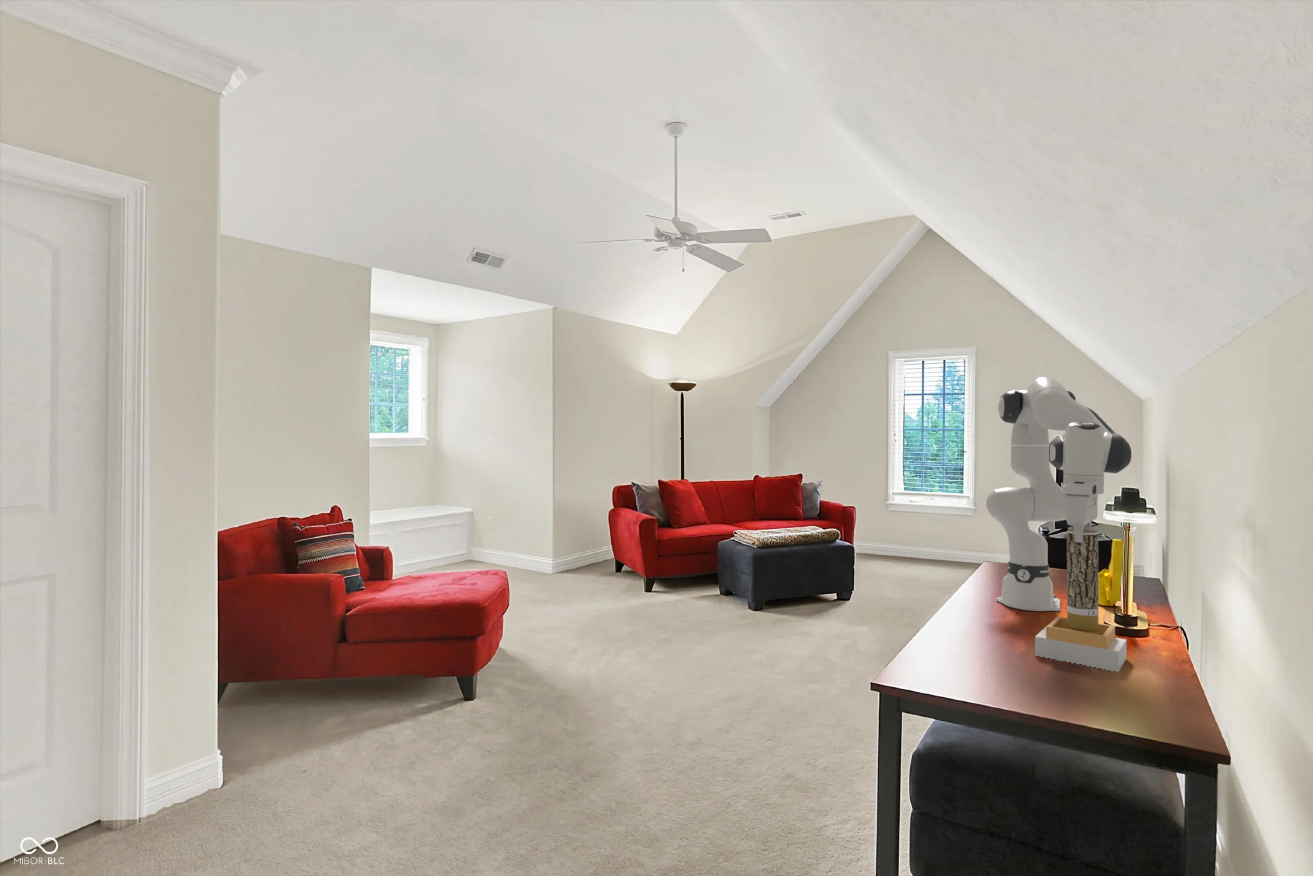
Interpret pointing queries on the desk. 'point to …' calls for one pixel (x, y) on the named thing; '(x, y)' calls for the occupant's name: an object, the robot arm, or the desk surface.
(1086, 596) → the paper tube
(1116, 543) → the figure statuette
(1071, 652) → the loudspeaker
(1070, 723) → the desk surface
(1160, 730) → the desk surface
